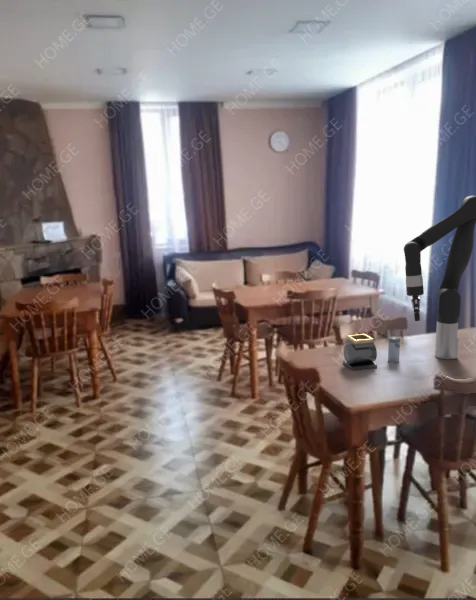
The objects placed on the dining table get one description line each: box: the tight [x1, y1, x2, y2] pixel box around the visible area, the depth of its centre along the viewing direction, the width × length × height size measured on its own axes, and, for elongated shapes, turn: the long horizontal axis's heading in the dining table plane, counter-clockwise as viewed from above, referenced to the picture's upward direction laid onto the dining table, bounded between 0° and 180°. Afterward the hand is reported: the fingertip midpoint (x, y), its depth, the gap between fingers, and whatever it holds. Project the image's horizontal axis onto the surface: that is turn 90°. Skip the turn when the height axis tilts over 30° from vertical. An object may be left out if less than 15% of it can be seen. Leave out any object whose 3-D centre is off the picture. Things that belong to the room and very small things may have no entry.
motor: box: [342, 333, 378, 371], centre depth 229 cm, size 12×10×14 cm
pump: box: [387, 336, 402, 364], centre depth 233 cm, size 7×6×11 cm
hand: (417, 319), depth 236 cm, fingers open, 8 cm apart
